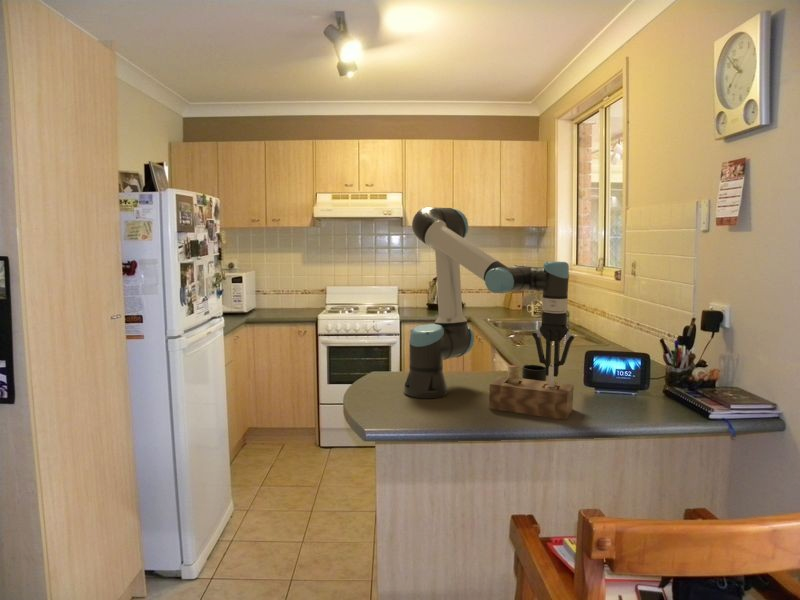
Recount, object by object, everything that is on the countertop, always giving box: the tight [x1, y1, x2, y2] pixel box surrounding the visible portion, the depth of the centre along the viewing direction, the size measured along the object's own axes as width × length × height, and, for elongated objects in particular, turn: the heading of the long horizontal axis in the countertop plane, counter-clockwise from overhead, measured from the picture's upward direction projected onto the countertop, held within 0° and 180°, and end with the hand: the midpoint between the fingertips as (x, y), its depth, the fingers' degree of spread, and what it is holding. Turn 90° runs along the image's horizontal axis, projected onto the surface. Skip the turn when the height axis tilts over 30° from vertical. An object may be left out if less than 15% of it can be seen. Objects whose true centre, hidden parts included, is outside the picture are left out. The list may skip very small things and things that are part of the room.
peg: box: [507, 365, 520, 385], centre depth 181 cm, size 4×4×8 cm
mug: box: [521, 364, 547, 381], centre depth 197 cm, size 8×12×10 cm
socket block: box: [488, 375, 575, 421], centre depth 179 cm, size 24×12×8 cm, turn 64°
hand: (551, 386), depth 176 cm, fingers closed
